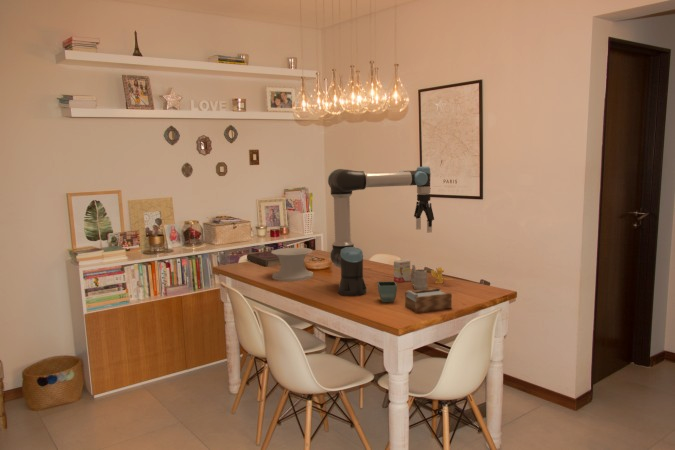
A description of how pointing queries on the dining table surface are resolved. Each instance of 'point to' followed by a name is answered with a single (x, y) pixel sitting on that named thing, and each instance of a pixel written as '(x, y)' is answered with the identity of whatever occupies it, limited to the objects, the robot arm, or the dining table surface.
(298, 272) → the grey spool stand
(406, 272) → the ink box
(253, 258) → the book
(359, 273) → the robot arm
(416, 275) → the mug
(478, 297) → the dining table surface
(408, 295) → the lid
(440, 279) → the figurine
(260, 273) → the dining table surface
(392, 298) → the flower pot
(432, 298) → the box
